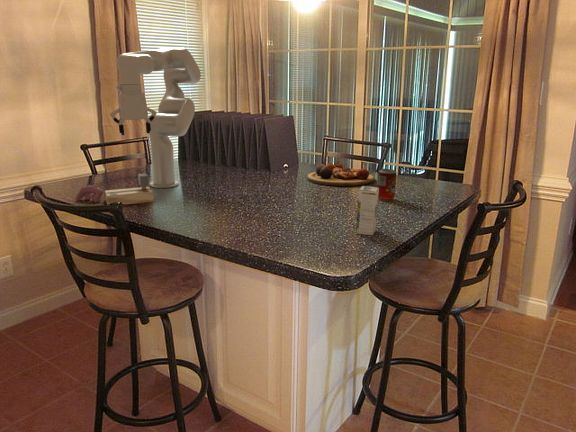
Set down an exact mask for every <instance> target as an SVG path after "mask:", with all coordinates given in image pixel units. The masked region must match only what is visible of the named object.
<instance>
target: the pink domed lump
mask: <svg viewBox="0 0 576 432" xmlns="http://www.w3.org/2000/svg"><path fill="white" fill-rule="evenodd" d="M103 195H104V190H103V189H102V188H100V187H98V186H96V185H83V186H82V187H81V188H80V189H79V191H78V193H77V194H76V196H75V200H76V201H77V202H79V201H81V200H82V199H83V198H84V199H85V200H87V201H89V200H92V201H93V203H95V204H96V203H98V202H99V201H100V200H101V198H102V196H103Z"/></svg>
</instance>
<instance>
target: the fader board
mask: <svg viewBox="0 0 576 432" xmlns="http://www.w3.org/2000/svg"><path fill="white" fill-rule="evenodd" d="M104 196H105V203H106V205H107V204H110V203H113V202H122V204H123V205H131V204H133V205H134V204H142V203H143V204H144V203H152V202H153V203H154V202H155V200H154V199H155V197H154V190H152V189H151V186H146V189H142V188H141V186H140V187H131V188H118V189H107V190H104Z"/></svg>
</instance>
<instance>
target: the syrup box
mask: <svg viewBox="0 0 576 432" xmlns="http://www.w3.org/2000/svg"><path fill="white" fill-rule="evenodd" d="M378 193H379V188H378V187H376V186H375V187H374V186H368V185H367V186H365V185H361V187H360V188H359V189H358V197H357V210H356V225H355V235H357V234H358V235H366V236H367V235H368V236H374V234H375V232H376V229H377V228H376V227H377V216H378V215H377V214H378V206H379V205H378V204H379V198H378Z"/></svg>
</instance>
